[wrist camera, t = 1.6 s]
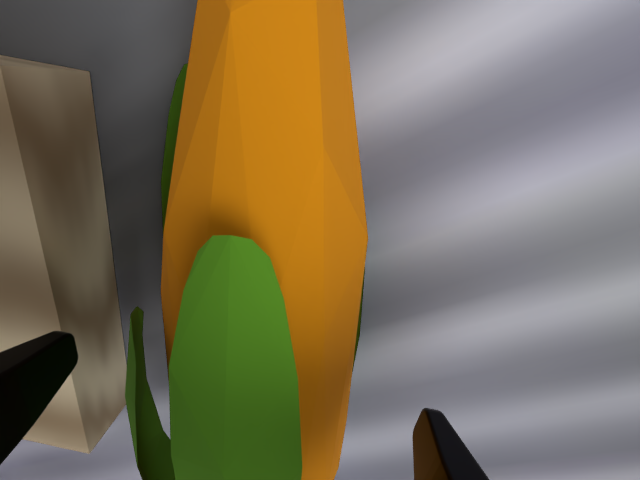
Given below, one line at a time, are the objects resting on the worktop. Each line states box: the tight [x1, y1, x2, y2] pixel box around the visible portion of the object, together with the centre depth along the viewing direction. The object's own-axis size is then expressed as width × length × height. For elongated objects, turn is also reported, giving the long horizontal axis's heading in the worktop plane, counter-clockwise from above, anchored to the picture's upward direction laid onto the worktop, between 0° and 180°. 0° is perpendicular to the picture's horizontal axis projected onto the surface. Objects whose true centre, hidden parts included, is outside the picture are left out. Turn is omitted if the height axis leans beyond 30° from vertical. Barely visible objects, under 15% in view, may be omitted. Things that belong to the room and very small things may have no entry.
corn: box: [125, 0, 368, 480], centre depth 10 cm, size 7×8×20 cm
